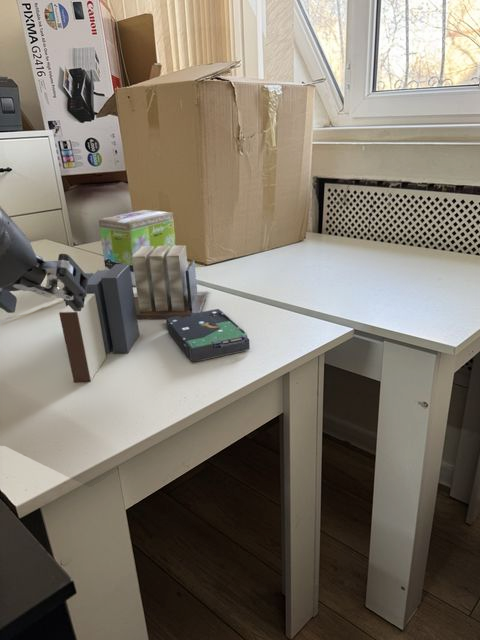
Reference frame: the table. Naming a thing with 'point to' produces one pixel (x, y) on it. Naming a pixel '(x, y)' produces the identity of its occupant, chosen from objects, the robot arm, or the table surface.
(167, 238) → the tea box
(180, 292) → the stone tile rack
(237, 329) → the disk drive
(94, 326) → the white book
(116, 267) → the grey books
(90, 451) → the table surface
